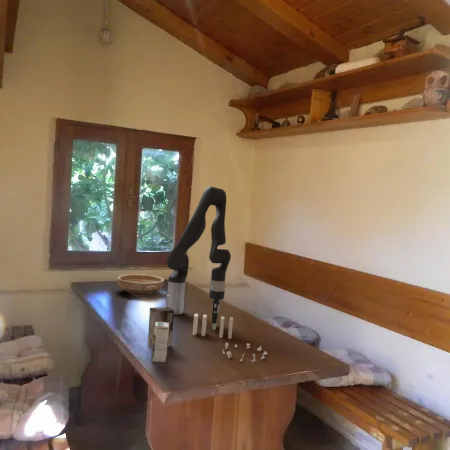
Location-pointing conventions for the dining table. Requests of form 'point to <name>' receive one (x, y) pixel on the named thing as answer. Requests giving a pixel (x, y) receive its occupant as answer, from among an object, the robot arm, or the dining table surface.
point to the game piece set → (243, 354)
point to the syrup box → (160, 342)
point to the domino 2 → (204, 325)
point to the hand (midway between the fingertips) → (214, 321)
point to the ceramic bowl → (140, 284)
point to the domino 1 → (195, 324)
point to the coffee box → (160, 316)
